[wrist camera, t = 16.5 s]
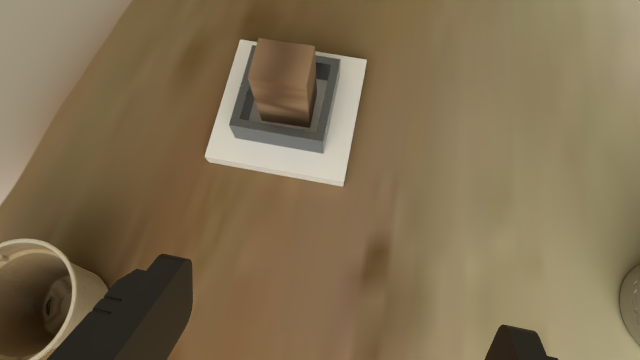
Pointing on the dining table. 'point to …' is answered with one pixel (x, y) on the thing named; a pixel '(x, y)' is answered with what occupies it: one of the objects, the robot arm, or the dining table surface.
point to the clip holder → (287, 140)
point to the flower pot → (41, 297)
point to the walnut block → (284, 81)
